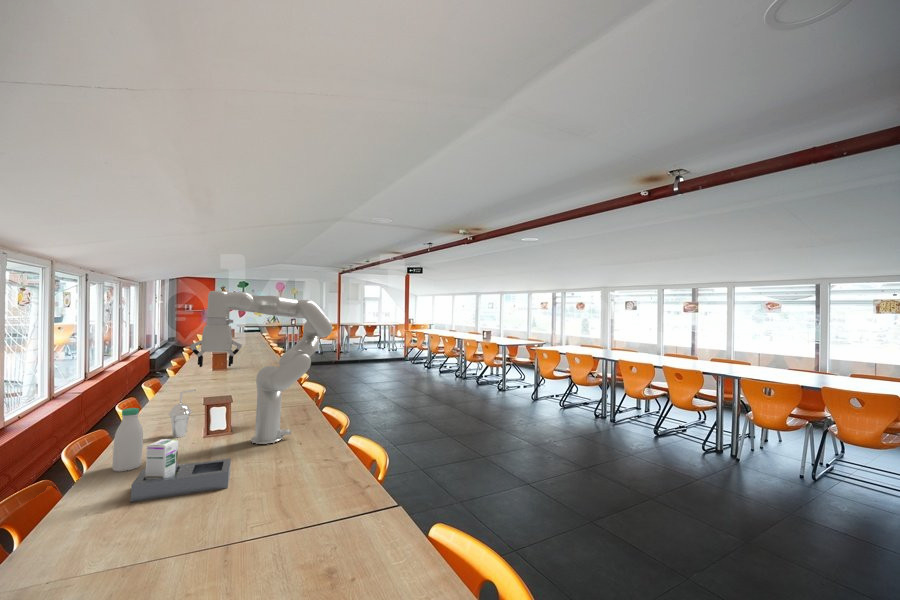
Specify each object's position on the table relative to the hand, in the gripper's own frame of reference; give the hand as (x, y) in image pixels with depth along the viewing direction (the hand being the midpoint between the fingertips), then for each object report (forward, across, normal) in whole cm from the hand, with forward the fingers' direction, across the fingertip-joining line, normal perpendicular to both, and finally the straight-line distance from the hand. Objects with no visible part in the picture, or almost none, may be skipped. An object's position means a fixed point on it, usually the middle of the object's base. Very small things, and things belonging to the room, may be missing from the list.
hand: (215, 366), depth 149 cm
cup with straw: (+34, +14, -27) cm, 45 cm away
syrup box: (+34, +10, +30) cm, 46 cm away
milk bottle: (+34, +24, +6) cm, 42 cm away
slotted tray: (+33, +4, +30) cm, 45 cm away
